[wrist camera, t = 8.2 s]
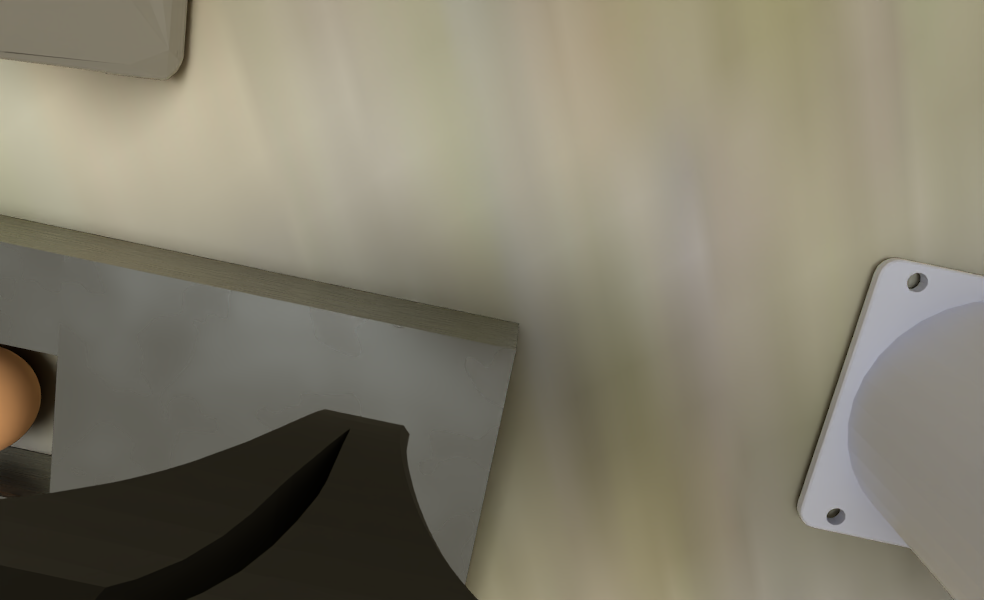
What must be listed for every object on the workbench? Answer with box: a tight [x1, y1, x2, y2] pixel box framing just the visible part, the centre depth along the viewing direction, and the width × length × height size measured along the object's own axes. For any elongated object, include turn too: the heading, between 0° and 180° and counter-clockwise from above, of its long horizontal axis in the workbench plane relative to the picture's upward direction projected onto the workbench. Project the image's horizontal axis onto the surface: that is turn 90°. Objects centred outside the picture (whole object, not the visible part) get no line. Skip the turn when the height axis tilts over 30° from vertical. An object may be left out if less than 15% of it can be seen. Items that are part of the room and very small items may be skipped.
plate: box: [0, 215, 519, 585], centre depth 21 cm, size 18×10×2 cm, turn 78°
